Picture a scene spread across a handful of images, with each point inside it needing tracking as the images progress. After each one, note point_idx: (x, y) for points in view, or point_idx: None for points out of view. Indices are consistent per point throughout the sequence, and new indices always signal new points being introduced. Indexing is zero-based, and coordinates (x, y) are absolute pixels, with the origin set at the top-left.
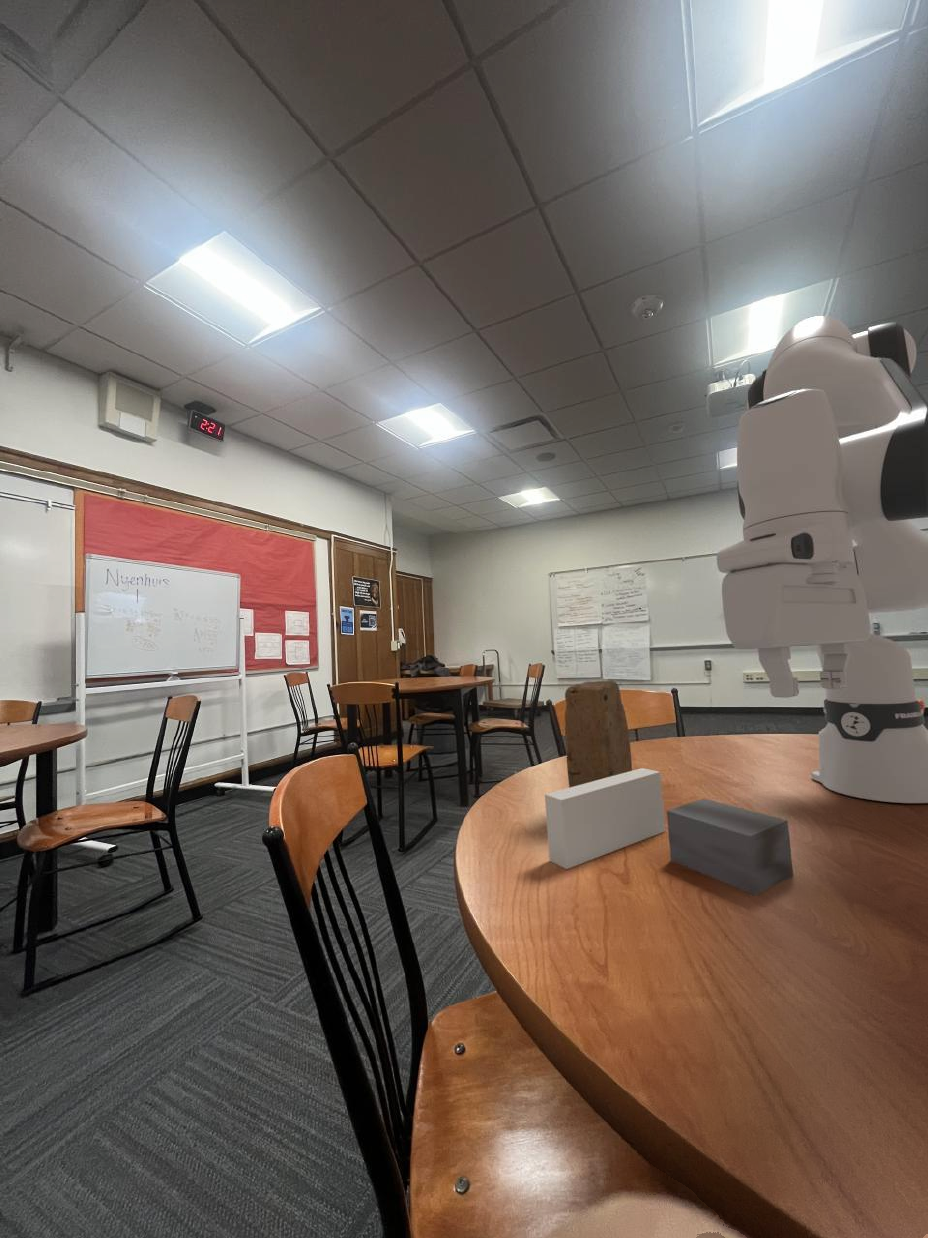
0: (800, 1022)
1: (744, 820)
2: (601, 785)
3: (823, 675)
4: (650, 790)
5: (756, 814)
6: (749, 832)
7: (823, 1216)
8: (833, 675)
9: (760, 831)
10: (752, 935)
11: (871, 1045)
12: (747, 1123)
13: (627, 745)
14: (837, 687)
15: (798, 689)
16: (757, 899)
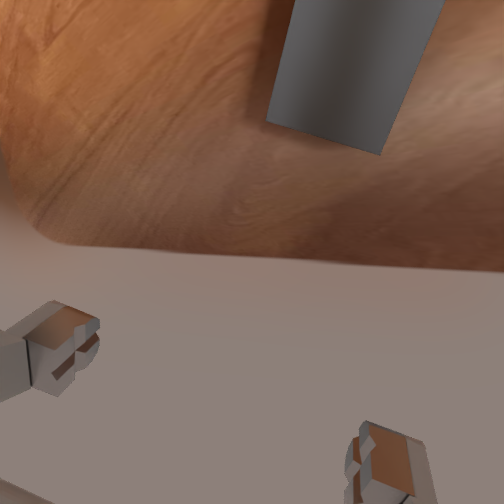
0: (116, 192)
1: (340, 88)
2: None
3: (365, 470)
4: None
5: (390, 97)
6: (282, 115)
7: (24, 215)
8: (350, 490)
9: (297, 129)
10: (195, 136)
11: (129, 229)
12: (32, 182)
13: None
14: (347, 451)
15: (83, 367)
16: None
